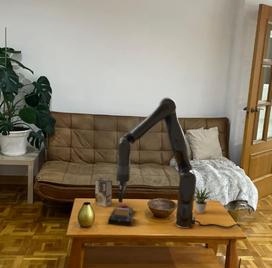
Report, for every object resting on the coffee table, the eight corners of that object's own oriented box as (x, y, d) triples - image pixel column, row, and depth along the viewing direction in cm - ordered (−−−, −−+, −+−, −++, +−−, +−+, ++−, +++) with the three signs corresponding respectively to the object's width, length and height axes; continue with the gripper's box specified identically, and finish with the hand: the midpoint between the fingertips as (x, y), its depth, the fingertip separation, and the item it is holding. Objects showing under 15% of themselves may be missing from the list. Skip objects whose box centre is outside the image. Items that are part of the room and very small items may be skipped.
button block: (133, 211, 227) (133, 205, 226) (130, 216, 218) (131, 210, 217) (115, 209, 228) (116, 203, 227) (112, 214, 219) (113, 208, 218)
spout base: (133, 218, 215) (133, 213, 215) (130, 227, 203) (130, 222, 203) (112, 216, 217) (112, 211, 216) (107, 225, 205) (107, 219, 204)
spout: (128, 216, 210) (128, 208, 209) (127, 218, 208) (128, 209, 207) (114, 215, 211) (115, 206, 210) (114, 216, 209) (114, 208, 208)
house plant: (212, 218, 223) (215, 193, 220) (189, 215, 225) (192, 190, 222) (211, 209, 237) (214, 185, 234) (190, 207, 239) (192, 183, 236)
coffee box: (111, 204, 235) (113, 180, 233) (105, 207, 230) (106, 182, 227) (100, 201, 240) (101, 177, 237) (94, 203, 235) (95, 179, 232)
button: (126, 206, 224) (127, 203, 223) (125, 208, 220) (126, 206, 220) (121, 206, 224) (121, 203, 224) (120, 208, 221) (120, 205, 220)
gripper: (127, 176, 197) (126, 204, 200) (131, 169, 211) (130, 196, 214) (114, 175, 198) (112, 203, 201) (119, 168, 212) (117, 194, 215)
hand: (121, 199), depth 208 cm, fingers open, 8 cm apart
